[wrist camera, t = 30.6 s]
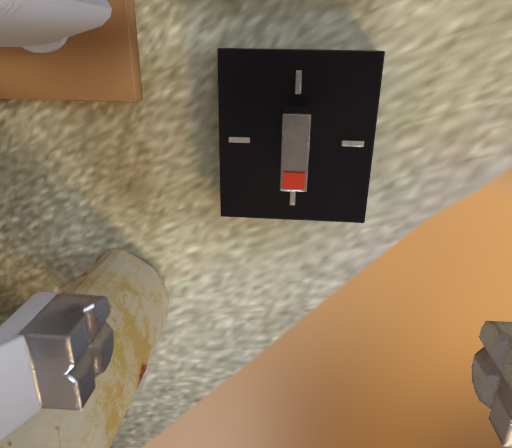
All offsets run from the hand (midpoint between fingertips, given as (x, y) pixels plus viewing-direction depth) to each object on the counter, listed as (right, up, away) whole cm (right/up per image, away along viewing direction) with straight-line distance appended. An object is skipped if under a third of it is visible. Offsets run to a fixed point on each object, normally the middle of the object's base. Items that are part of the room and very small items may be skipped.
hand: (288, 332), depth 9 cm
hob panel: (+2, +9, +21) cm, 23 cm away
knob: (+2, +8, +18) cm, 20 cm away
